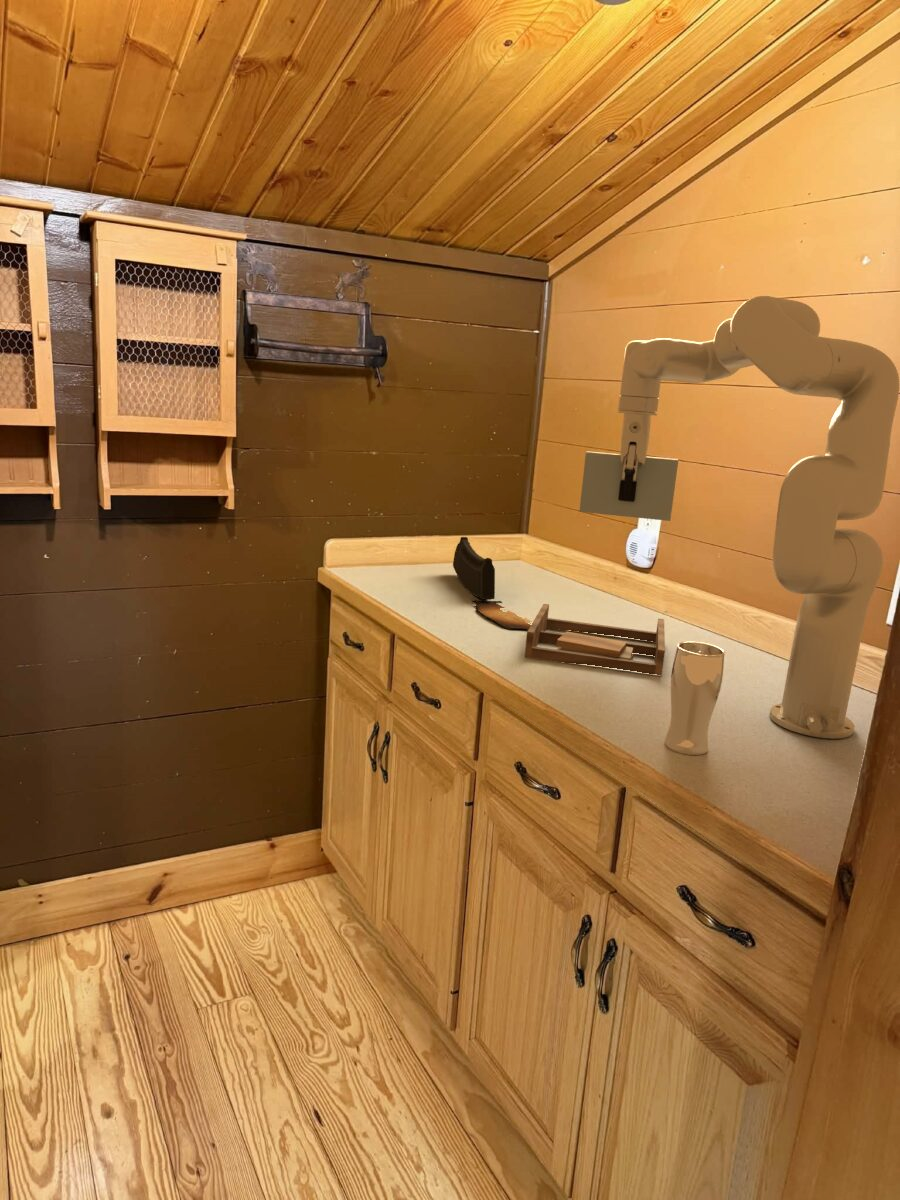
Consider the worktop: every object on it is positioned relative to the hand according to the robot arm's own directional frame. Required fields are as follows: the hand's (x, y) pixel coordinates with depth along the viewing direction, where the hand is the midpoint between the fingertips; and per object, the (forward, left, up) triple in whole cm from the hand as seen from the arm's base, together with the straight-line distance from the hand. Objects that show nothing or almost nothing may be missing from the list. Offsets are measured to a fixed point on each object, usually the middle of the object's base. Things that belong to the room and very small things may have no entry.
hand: (626, 499), depth 169 cm
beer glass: (-54, -14, -29) cm, 63 cm away
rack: (-10, +2, -29) cm, 31 cm away
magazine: (+29, +36, -29) cm, 55 cm away
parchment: (+6, +24, -30) cm, 39 cm away
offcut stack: (-15, +2, -30) cm, 33 cm away
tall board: (0, 0, -3) cm, 3 cm away
